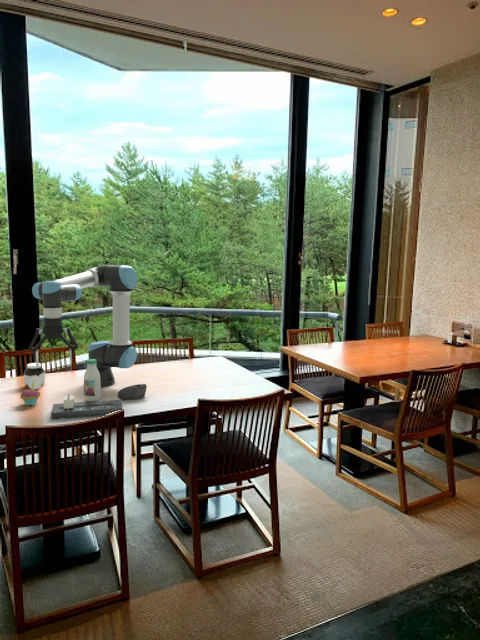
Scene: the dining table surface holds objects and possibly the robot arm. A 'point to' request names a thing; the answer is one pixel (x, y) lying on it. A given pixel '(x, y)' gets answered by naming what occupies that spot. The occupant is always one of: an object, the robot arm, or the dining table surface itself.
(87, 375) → the milk bottle
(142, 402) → the dining table surface
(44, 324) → the robot arm
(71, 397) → the fader knob
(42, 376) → the spread jar
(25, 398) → the cupcake
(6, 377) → the dining table surface
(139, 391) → the perforated stone tool
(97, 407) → the fader console
